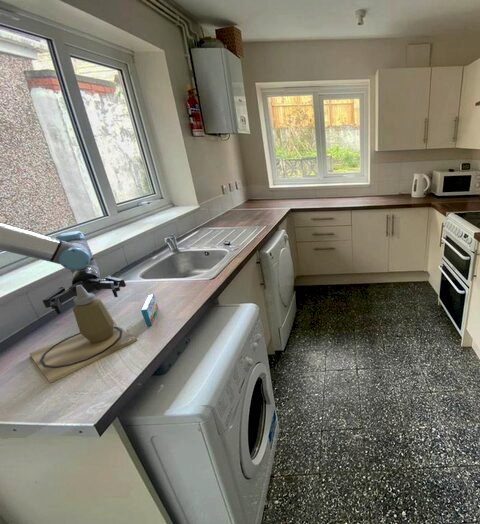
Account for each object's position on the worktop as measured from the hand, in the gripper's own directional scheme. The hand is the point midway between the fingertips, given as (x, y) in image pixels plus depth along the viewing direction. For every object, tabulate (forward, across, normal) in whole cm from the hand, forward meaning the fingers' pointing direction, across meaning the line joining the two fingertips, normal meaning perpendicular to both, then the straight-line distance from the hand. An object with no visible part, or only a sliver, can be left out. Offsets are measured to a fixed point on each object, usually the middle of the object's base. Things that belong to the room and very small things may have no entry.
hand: (87, 301), depth 88 cm
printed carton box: (0, -14, -12) cm, 19 cm away
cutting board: (+6, +4, -12) cm, 14 cm away
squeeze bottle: (+4, 0, -11) cm, 12 cm away
